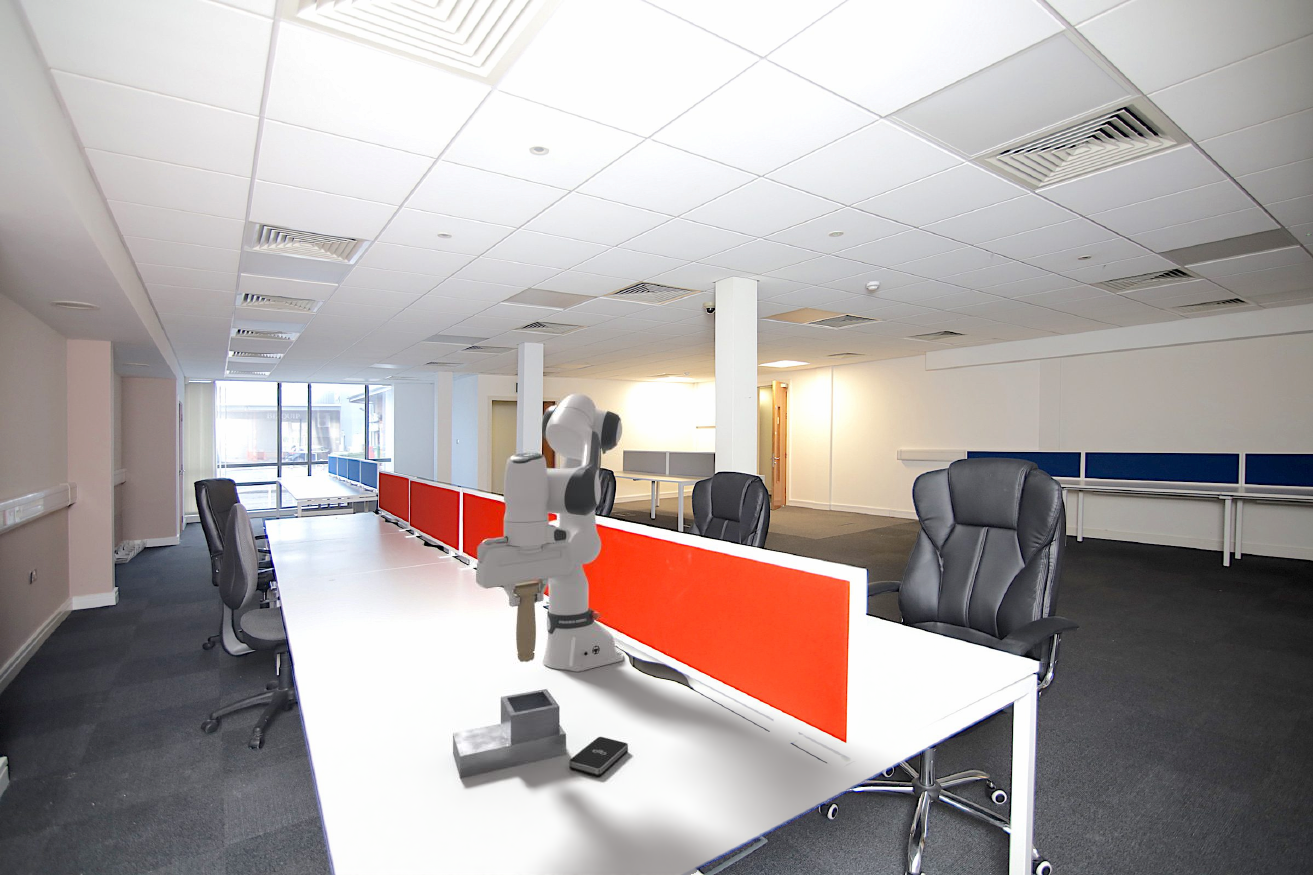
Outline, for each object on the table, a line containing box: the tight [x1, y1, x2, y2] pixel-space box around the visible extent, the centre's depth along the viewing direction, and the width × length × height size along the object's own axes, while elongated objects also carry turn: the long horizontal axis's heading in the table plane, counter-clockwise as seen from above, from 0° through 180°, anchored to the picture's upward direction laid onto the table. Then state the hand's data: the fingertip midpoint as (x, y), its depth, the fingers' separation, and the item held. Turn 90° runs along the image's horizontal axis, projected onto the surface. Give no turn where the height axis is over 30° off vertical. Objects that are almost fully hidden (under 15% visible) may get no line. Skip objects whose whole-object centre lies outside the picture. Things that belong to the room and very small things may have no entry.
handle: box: [513, 580, 540, 663], centre depth 123 cm, size 5×6×15 cm
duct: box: [452, 688, 567, 779], centre depth 121 cm, size 20×10×10 cm, turn 115°
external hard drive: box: [568, 736, 629, 779], centre depth 118 cm, size 7×11×2 cm, turn 153°
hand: (526, 603), depth 123 cm, fingers closed on handle, 4 cm apart
